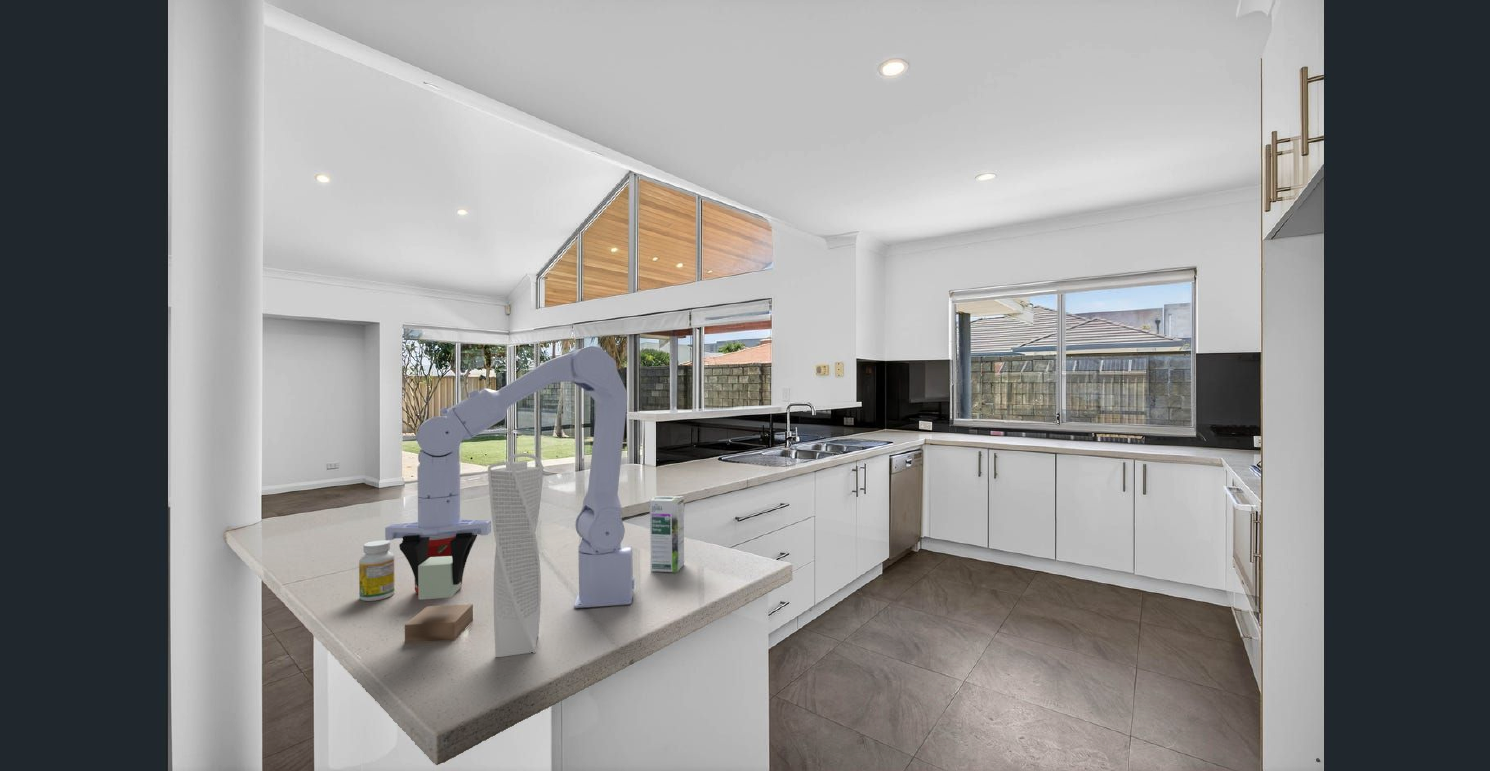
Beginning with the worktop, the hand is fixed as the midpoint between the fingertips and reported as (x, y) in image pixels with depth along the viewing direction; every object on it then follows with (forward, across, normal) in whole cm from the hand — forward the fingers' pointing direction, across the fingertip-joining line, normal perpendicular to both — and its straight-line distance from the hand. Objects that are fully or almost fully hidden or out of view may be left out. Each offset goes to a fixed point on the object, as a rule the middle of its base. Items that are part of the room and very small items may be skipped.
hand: (439, 583), depth 86 cm
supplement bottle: (+8, -17, +18) cm, 26 cm away
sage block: (+2, 0, 0) cm, 2 cm away
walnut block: (+8, 0, 0) cm, 8 cm away
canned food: (+8, -7, +19) cm, 22 cm away
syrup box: (+7, +35, +24) cm, 43 cm away
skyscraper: (+8, +13, -8) cm, 17 cm away
